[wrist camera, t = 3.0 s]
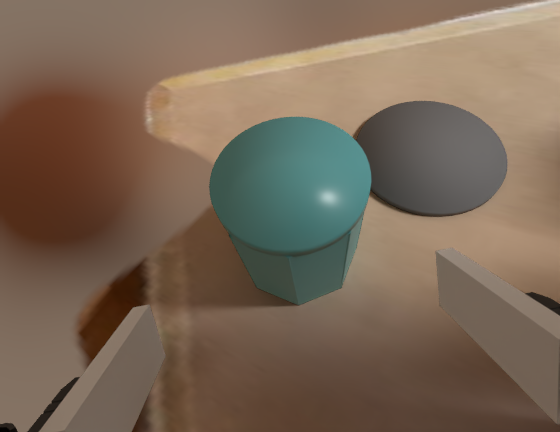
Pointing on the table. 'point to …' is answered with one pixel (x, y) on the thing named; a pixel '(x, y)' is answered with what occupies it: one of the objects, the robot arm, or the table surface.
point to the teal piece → (293, 204)
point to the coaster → (432, 158)
